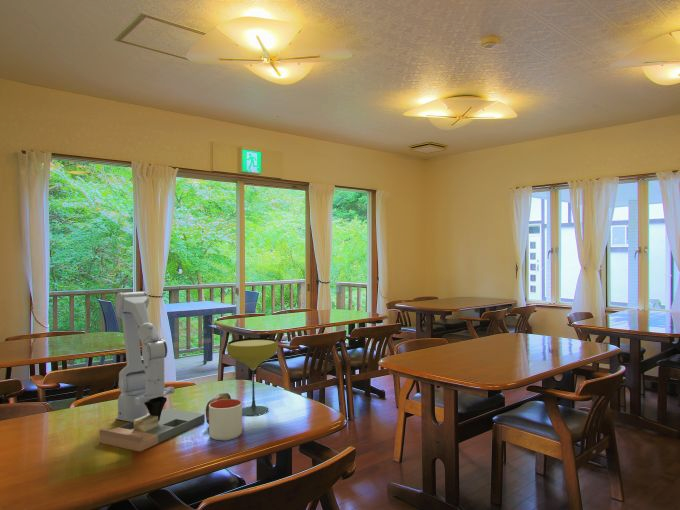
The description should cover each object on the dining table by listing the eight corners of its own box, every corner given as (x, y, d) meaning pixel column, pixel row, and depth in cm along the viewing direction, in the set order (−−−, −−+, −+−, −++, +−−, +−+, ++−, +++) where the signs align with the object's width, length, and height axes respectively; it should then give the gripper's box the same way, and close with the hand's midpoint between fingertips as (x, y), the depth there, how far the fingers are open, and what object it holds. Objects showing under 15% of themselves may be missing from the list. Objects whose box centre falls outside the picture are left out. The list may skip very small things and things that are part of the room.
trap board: (99, 442, 142) (99, 429, 142) (167, 415, 167) (167, 403, 167) (140, 451, 135) (140, 437, 135) (204, 421, 159) (204, 409, 159)
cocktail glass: (281, 416, 163) (280, 344, 163) (228, 421, 159) (227, 347, 159) (275, 401, 180) (274, 336, 181) (227, 405, 176) (226, 339, 176)
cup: (248, 431, 149) (247, 400, 149) (231, 443, 140) (230, 410, 140) (221, 428, 152) (220, 397, 153) (202, 439, 143) (202, 407, 143)
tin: (212, 429, 152) (212, 403, 152) (204, 428, 153) (203, 402, 153) (232, 414, 167) (232, 390, 167) (224, 413, 168) (224, 389, 168)
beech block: (133, 429, 146) (133, 420, 146) (147, 424, 150) (147, 414, 151) (144, 431, 144) (144, 421, 144) (158, 425, 149) (158, 416, 149)
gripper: (146, 385, 143) (146, 430, 143) (180, 374, 156) (181, 415, 156) (129, 383, 146) (130, 427, 146) (165, 372, 159) (165, 413, 159)
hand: (155, 421), depth 151 cm, fingers closed
